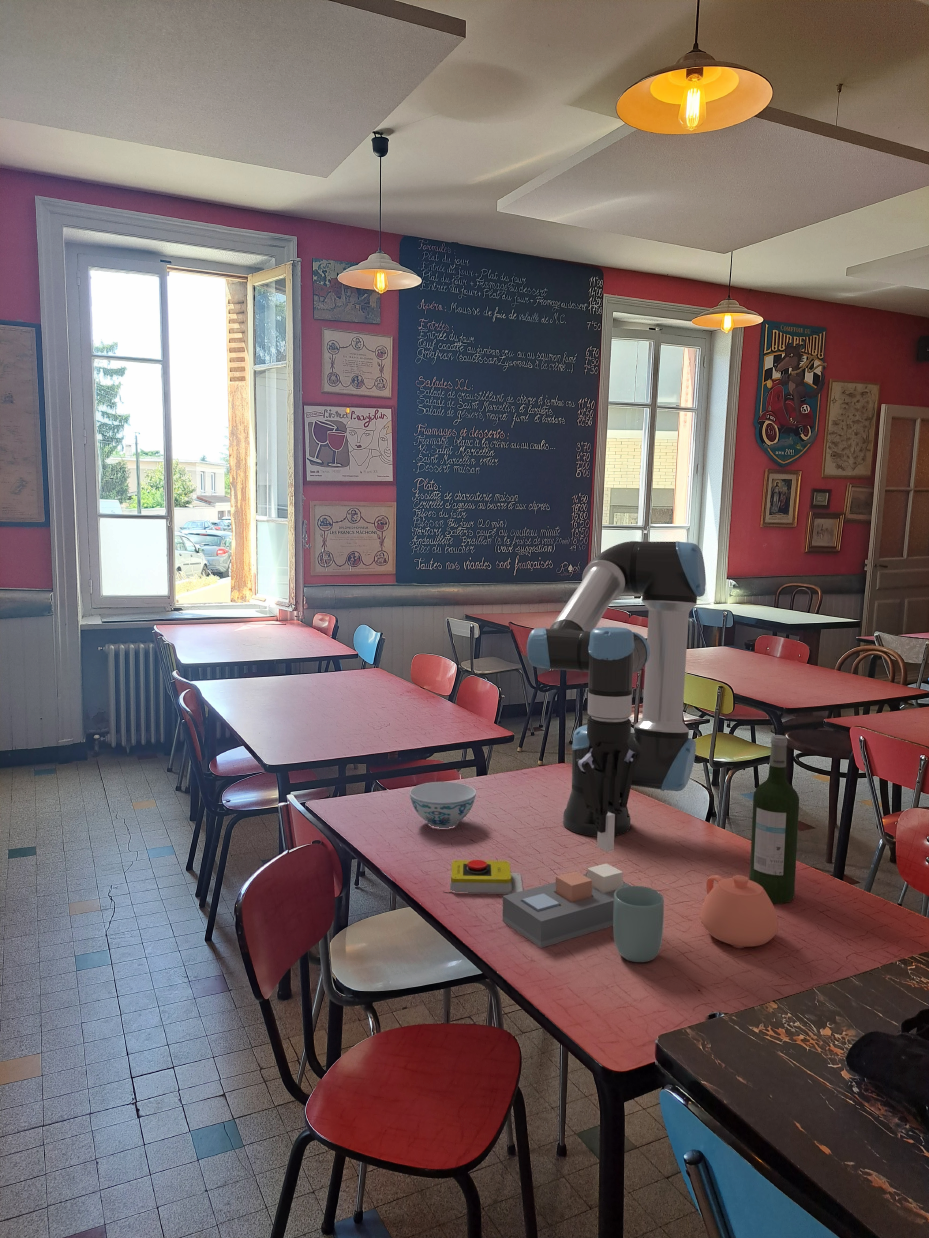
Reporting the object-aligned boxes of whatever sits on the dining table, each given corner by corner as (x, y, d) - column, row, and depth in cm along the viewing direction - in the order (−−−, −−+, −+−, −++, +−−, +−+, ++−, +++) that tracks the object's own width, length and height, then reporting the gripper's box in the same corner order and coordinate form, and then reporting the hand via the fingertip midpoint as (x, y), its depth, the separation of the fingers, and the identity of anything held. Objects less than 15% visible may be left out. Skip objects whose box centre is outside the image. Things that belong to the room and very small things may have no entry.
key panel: (600, 893, 159) (601, 869, 159) (642, 916, 150) (643, 891, 149) (502, 920, 148) (502, 895, 147) (540, 947, 138) (541, 921, 138)
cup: (606, 944, 140) (608, 886, 139) (653, 943, 140) (655, 884, 139) (619, 969, 132) (621, 907, 131) (668, 967, 133) (671, 905, 132)
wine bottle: (793, 889, 162) (801, 733, 158) (794, 906, 154) (803, 743, 151) (749, 883, 164) (756, 729, 161) (748, 900, 157) (756, 739, 154)
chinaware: (487, 821, 197) (488, 788, 196) (452, 841, 185) (452, 806, 184) (434, 809, 205) (434, 777, 204) (396, 827, 193) (396, 794, 192)
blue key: (543, 912, 148) (543, 893, 148) (558, 922, 144) (559, 903, 144) (522, 918, 146) (522, 898, 145) (537, 929, 142) (538, 908, 142)
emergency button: (444, 853, 168) (521, 854, 168) (444, 875, 168) (520, 876, 168) (442, 872, 158) (523, 873, 158) (442, 895, 159) (523, 896, 159)
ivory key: (605, 881, 155) (606, 863, 155) (622, 890, 151) (622, 871, 151) (586, 887, 153) (587, 868, 152) (603, 896, 149) (603, 877, 149)
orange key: (575, 890, 151) (575, 871, 151) (591, 899, 148) (592, 880, 147) (555, 895, 149) (555, 876, 149) (571, 905, 145) (571, 885, 145)
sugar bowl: (738, 961, 135) (741, 898, 134) (677, 924, 147) (679, 866, 146) (793, 944, 141) (796, 884, 140) (730, 909, 153) (733, 854, 152)
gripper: (622, 709, 155) (619, 835, 158) (565, 716, 148) (562, 848, 151) (652, 717, 149) (647, 848, 151) (594, 725, 142) (590, 862, 145)
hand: (605, 848), depth 151 cm, fingers closed
